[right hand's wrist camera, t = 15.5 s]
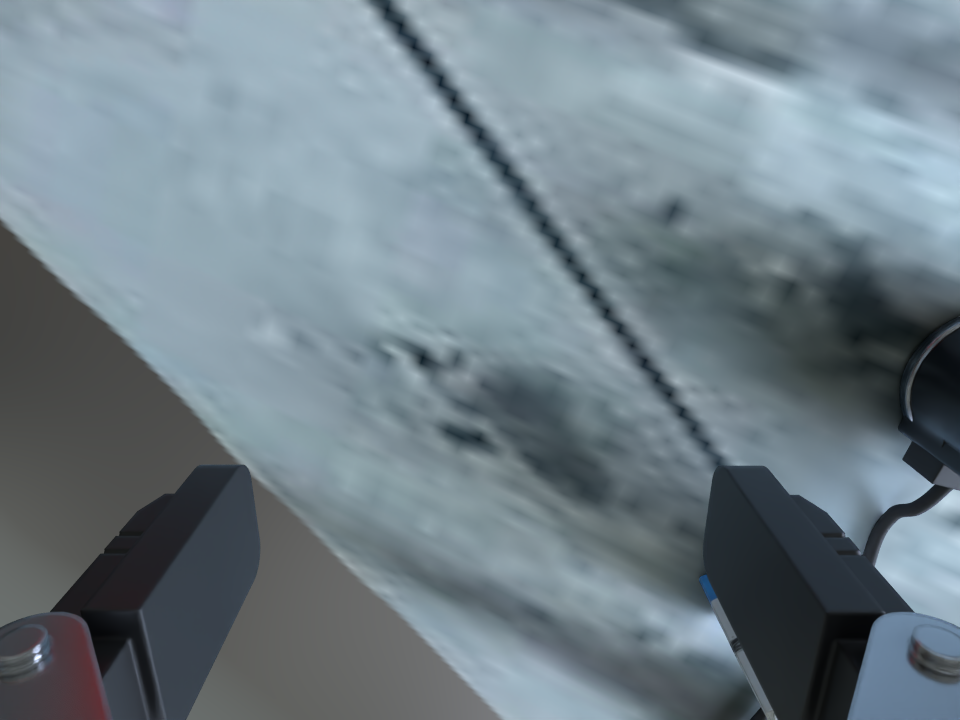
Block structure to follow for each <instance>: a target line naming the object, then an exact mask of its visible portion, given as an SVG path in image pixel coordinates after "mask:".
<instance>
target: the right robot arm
mask: <svg viewBox="0 0 960 720" xmlns="http://www.w3.org/2000/svg"><path fill="white" fill-rule="evenodd" d="M900 404H901V409H902V412H903V414H904V416H903V419H902V421H901V423H900V425H899V427H898V430H899V431H900V432H901V433H902V434H904V435H905V436H906V437H908V438H909V439H910V440H912V443H911V445H910V446H909V448H908V450H907V452H906V454H905V455H904V457H903V461H905V462H906V463H907V464H908V465H910V466H911V467H912V468H913V469H915V470H916V471H917V472H918V473H920V474H921V475H922V476H923V477H924V478H926V479H927V480H928V481H929V482H931V483H932V484H935V485H934V486H933V487H932V488H931V489H930V490H929V491H927V492H926V493H925V494H924V495H923V496H921V497H920V498H919V499H917V500H915V501H914V502H911V503H908V504H898V505H894V506H892V507H890V508H889V509H888V510H887V511H886V512H885V513H884V514H883V515H882V516H881V518H880V519H879V520H878V521H877V523H876V524H875V526H874V528H873V529H872V531H871V534H870V536H869V538H868V541H867V544H866V547H865V550H864V553H863V555H861V554H860V550H859V549H858V548H857V546H856V545H855V544H854V543H853V542H852V541H851V540H850V538H846V537H845V533H844V532H843V530H842V529H841V528H840V527H839V526H838V525H837V524H836V523H835V521H834V520H833V519H832V518H831V517H830V516H829V515H828V513H827V512H825V511H823V510H822V509H820V508H819V507H817V506H815V505H814V504H812V503H811V502H809V501H808V500H806V499H804V498H803V497H801V496H800V495H789V494H788V492H787V491H786V490H785V489H784V488H783V486H782V485H781V484H780V483H779V482H778V480H777V479H776V478H775V477H774V475H773V474H772V473H771V472H770V471H769V469H768V468H766V467H765V466H718V467H717V468H716V470H715V472H714V475H713V479H712V486H711V493H710V500H709V507H708V514H707V521H706V528H705V535H704V542H703V557H704V565H705V570H706V574H707V577H708V580H709V582H710V584H711V586H712V588H713V590H714V592H715V594H716V596H717V598H718V600H719V602H720V604H721V606H722V608H723V610H724V612H725V614H726V616H727V618H728V620H729V623H730V625H731V627H732V629H733V631H734V633H735V635H736V637H737V639H738V641H739V643H740V645H741V647H742V649H743V651H744V653H745V655H746V657H747V659H748V661H749V663H750V665H751V667H752V669H753V671H754V673H755V675H756V677H757V679H758V681H759V683H760V685H761V687H762V689H763V691H764V693H765V695H766V697H767V699H768V701H769V703H770V705H771V707H772V709H773V711H774V713H775V715H776V718H777V720H960V627H958V626H956V625H954V624H951V623H949V622H946V621H944V620H941V619H938V618H935V617H932V616H928V615H924V614H920V613H915V612H914V611H913V610H912V609H911V608H910V607H909V606H908V604H907V603H906V602H905V601H904V600H903V599H902V598H901V596H900V595H899V594H898V593H897V592H896V591H895V590H894V588H893V587H892V586H891V585H890V584H889V583H888V582H887V581H886V579H885V578H884V577H883V576H882V575H881V574H880V573H879V571H878V570H877V569H876V568H875V563H876V560H877V556H878V553H879V550H880V547H881V544H882V542H883V540H884V537H885V535H886V534H887V532H888V530H889V529H890V528H891V526H892V525H893V524H894V523H895V522H896V521H897V520H898V519H900V518H902V517H912V516H917V515H920V514H922V513H924V512H926V511H927V510H929V509H931V508H932V507H933V506H935V505H936V504H937V503H938V502H939V501H941V500H942V499H943V498H944V497H945V496H946V495H947V494H948V493H949V492H950V491H952V490H953V489H956V490H960V317H957V318H955V319H953V320H951V321H949V322H947V323H946V324H944V325H943V326H941V327H940V328H938V329H937V330H936V331H934V332H933V333H932V334H931V335H930V336H928V337H927V338H926V339H925V340H924V341H923V342H922V343H921V345H920V346H919V347H918V348H917V349H916V351H915V352H914V354H913V355H912V357H911V358H910V360H909V362H908V364H907V366H906V368H905V370H904V373H903V376H902V380H901V385H900ZM259 560H260V538H259V531H258V524H257V517H256V510H255V503H254V495H253V489H252V481H251V475H250V472H249V470H248V468H247V467H246V466H245V465H199V466H197V467H196V468H195V469H194V471H193V472H192V473H191V474H190V475H189V477H188V478H187V479H186V480H185V482H184V483H183V484H182V485H181V487H180V488H179V489H178V490H177V492H176V493H175V494H164V495H162V496H161V497H159V498H158V499H156V500H155V501H153V502H151V503H150V504H148V505H147V506H145V507H144V508H142V509H140V510H139V511H137V512H136V514H135V515H134V516H133V517H132V518H131V519H130V520H129V522H128V523H127V524H126V525H125V526H124V527H123V528H122V530H121V531H120V534H119V536H116V537H115V538H114V539H113V540H112V541H111V542H110V543H109V545H108V546H107V547H106V548H105V551H104V554H100V555H99V556H98V557H97V558H96V560H95V561H94V562H93V563H92V564H91V565H90V566H89V568H88V569H87V570H86V571H85V572H84V573H83V574H82V576H81V577H80V578H79V579H78V580H77V581H76V583H75V584H74V585H73V586H72V587H71V588H70V589H69V590H68V592H67V593H66V594H65V595H64V596H63V597H62V599H61V600H60V601H59V602H58V603H57V604H56V605H55V607H54V608H53V609H52V610H51V611H50V612H48V613H41V614H36V615H32V616H28V617H25V618H22V619H19V620H16V621H14V622H11V623H9V624H6V625H4V626H2V627H0V720H186V719H187V717H188V715H189V713H190V711H191V709H192V706H193V704H194V702H195V700H196V698H197V696H198V694H199V692H200V690H201V688H202V686H203V684H204V682H205V680H206V678H207V676H208V674H209V672H210V670H211V668H212V666H213V663H214V661H215V659H216V657H217V655H218V653H219V651H220V649H221V647H222V645H223V643H224V641H225V639H226V637H227V635H228V633H229V631H230V629H231V627H232V625H233V623H234V621H235V618H236V616H237V614H238V612H239V610H240V608H241V606H242V604H243V602H244V600H245V598H246V596H247V594H248V592H249V590H250V588H251V586H252V584H253V582H254V579H255V577H256V574H257V570H258V566H259ZM750 720H767V717H766V716H765V714H764V712H763V710H762V708H760V709H759V710H758V711H757V712H756V714H755V715H754V716H753V717H752V718H751V719H750Z"/></svg>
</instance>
